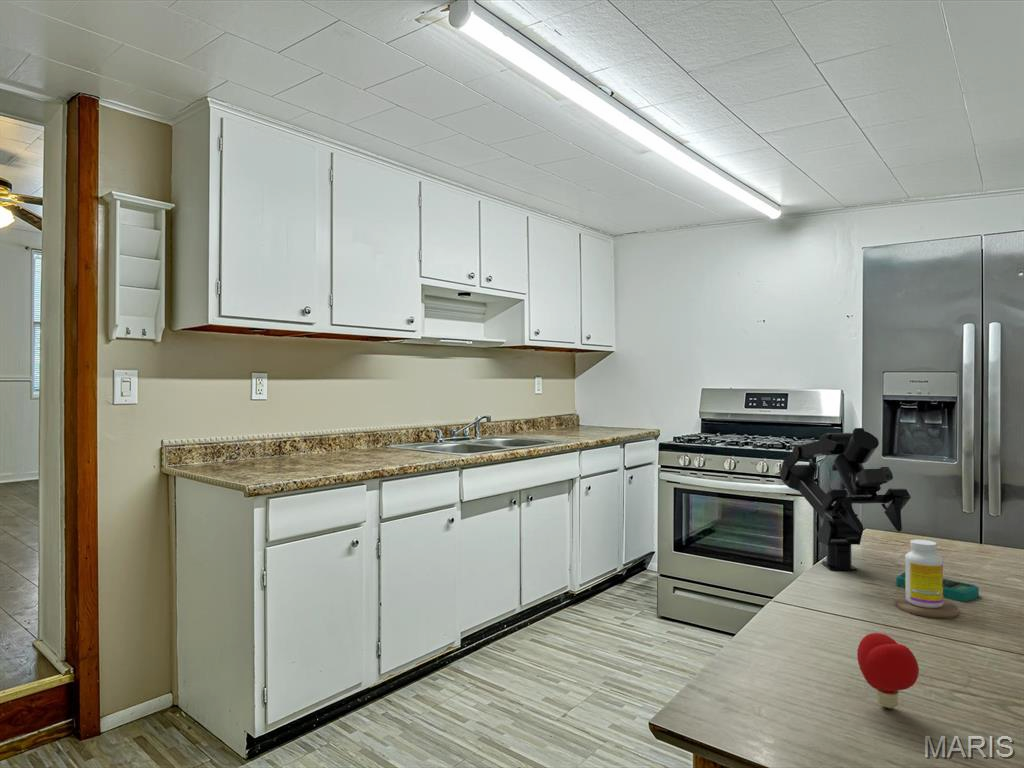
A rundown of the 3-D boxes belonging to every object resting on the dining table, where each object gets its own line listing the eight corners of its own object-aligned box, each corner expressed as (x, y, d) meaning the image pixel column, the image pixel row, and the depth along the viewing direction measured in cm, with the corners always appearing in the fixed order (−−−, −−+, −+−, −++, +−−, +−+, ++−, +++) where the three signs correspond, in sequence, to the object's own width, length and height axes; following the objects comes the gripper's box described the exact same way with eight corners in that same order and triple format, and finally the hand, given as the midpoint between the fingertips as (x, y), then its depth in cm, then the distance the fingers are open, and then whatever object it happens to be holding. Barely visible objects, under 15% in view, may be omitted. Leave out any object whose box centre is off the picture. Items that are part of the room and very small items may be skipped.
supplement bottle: (950, 609, 132) (949, 546, 131) (915, 608, 132) (914, 545, 132) (932, 598, 138) (932, 538, 138) (899, 597, 139) (899, 537, 139)
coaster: (885, 599, 141) (885, 594, 141) (939, 600, 140) (939, 596, 140) (911, 617, 130) (911, 612, 130) (969, 619, 129) (969, 614, 129)
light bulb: (845, 694, 99) (844, 628, 99) (889, 692, 99) (888, 626, 99) (885, 726, 89) (885, 653, 89) (933, 723, 90) (933, 651, 90)
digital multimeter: (908, 581, 155) (908, 569, 155) (980, 598, 143) (980, 584, 143) (893, 587, 151) (893, 574, 151) (965, 604, 139) (965, 591, 139)
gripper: (827, 455, 152) (853, 511, 142) (906, 454, 153) (937, 510, 142) (811, 483, 160) (834, 538, 150) (886, 482, 161) (914, 537, 150)
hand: (880, 531), depth 148 cm, fingers open, 9 cm apart
